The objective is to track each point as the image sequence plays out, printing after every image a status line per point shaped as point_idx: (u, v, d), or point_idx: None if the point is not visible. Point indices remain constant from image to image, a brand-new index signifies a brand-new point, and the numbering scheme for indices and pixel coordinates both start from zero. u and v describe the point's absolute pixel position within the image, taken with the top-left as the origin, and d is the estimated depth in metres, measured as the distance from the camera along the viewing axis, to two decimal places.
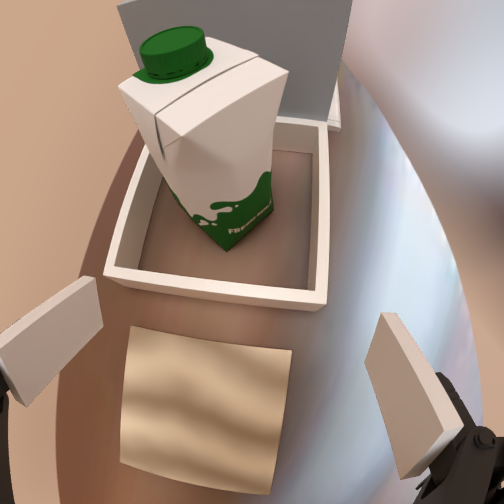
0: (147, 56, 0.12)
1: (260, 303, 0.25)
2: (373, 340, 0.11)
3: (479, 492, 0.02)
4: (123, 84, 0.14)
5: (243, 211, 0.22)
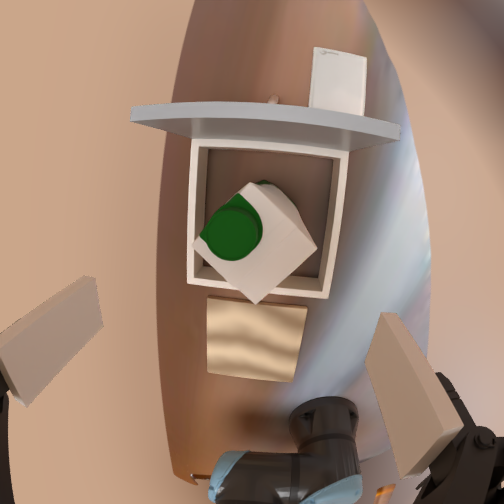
0: None
1: None
2: (373, 340, 0.11)
3: (479, 492, 0.02)
4: (196, 246, 0.24)
5: None
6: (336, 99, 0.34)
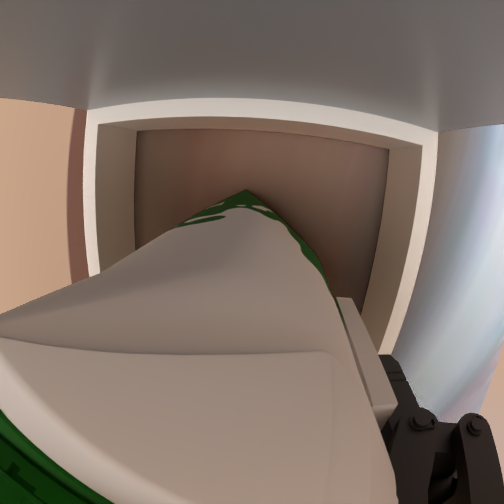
0: None
1: None
2: None
3: (421, 476, 0.03)
4: None
5: None
6: None
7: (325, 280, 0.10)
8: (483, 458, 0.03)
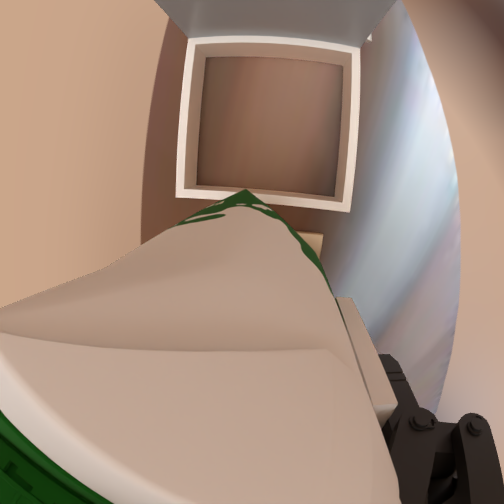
0: None
1: None
2: None
3: (421, 476, 0.03)
4: None
5: None
6: None
7: (325, 279, 0.10)
8: (483, 458, 0.03)
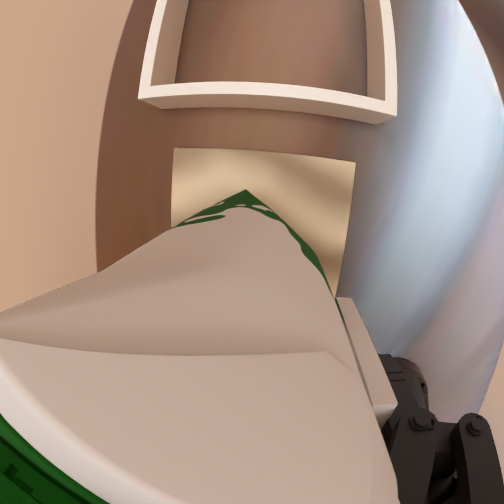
0: None
1: (322, 110, 0.20)
2: None
3: (421, 476, 0.03)
4: None
5: None
6: None
7: (325, 280, 0.10)
8: (483, 458, 0.03)
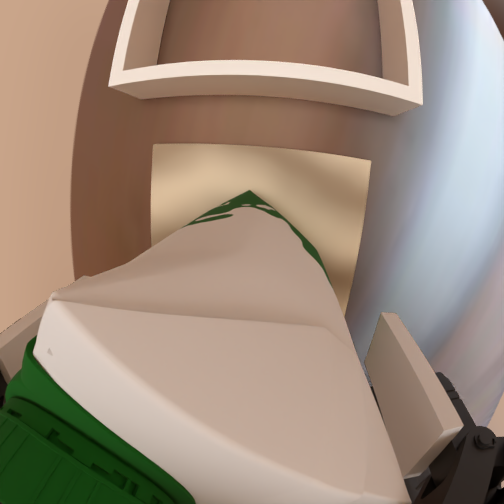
0: None
1: (331, 96, 0.16)
2: (373, 340, 0.11)
3: (479, 492, 0.02)
4: None
5: None
6: None
7: (325, 272, 0.11)
8: None
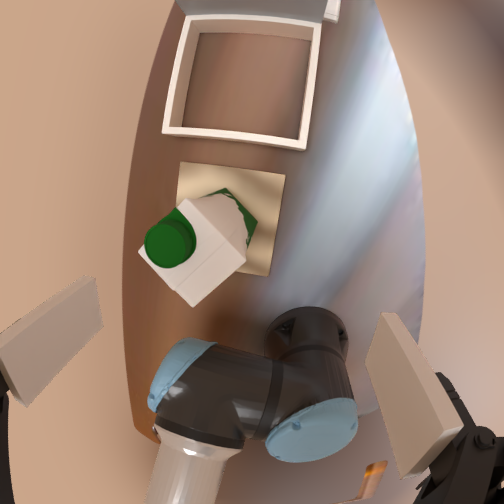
0: None
1: (266, 144, 0.38)
2: (373, 340, 0.11)
3: (479, 492, 0.02)
4: (142, 253, 0.26)
5: None
6: None
7: (244, 217, 0.33)
8: None
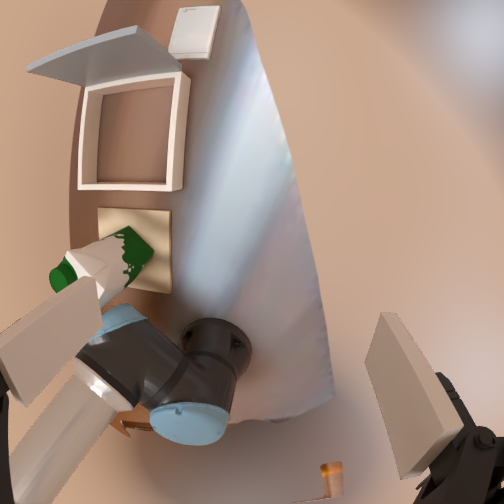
0: None
1: None
2: (373, 340, 0.11)
3: (479, 492, 0.02)
4: None
5: None
6: (188, 39, 0.38)
7: (125, 253, 0.41)
8: None
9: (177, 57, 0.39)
